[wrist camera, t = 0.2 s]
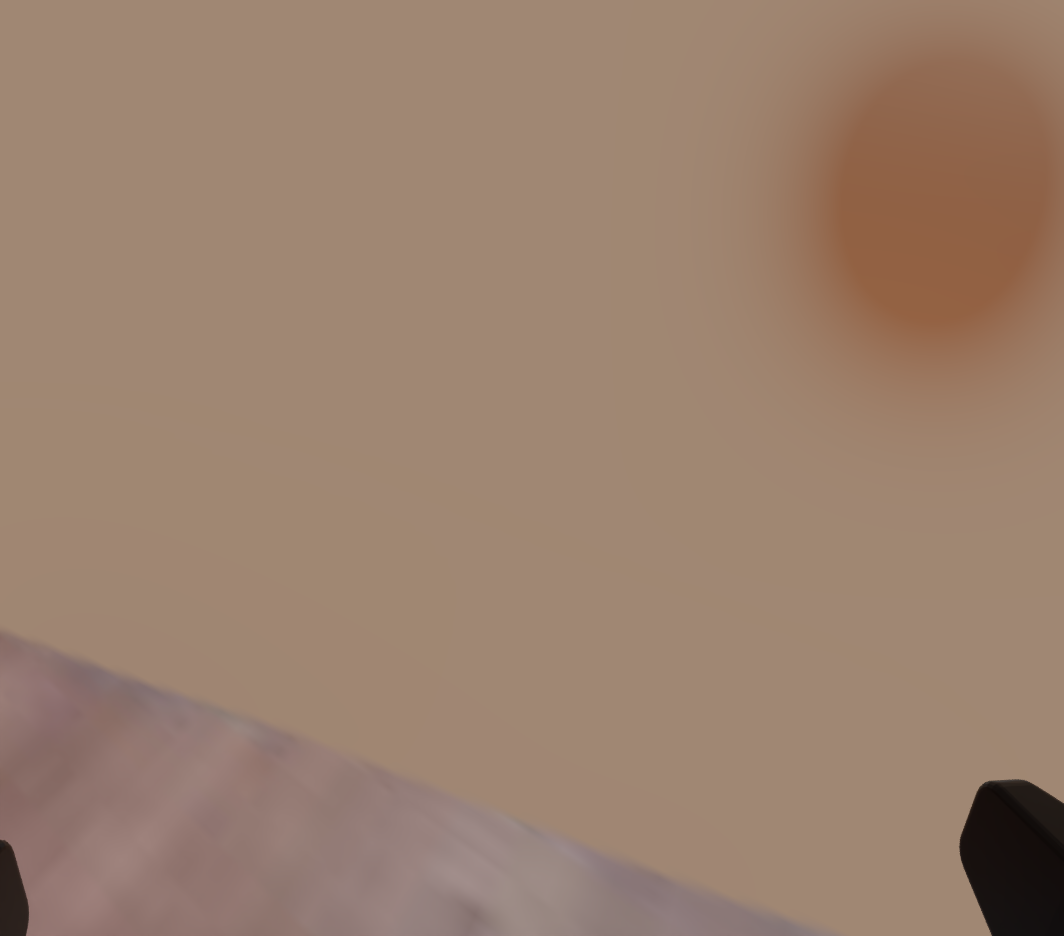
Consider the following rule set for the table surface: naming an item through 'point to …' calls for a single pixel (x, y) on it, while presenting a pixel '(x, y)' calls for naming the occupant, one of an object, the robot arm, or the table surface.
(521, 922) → the table surface
